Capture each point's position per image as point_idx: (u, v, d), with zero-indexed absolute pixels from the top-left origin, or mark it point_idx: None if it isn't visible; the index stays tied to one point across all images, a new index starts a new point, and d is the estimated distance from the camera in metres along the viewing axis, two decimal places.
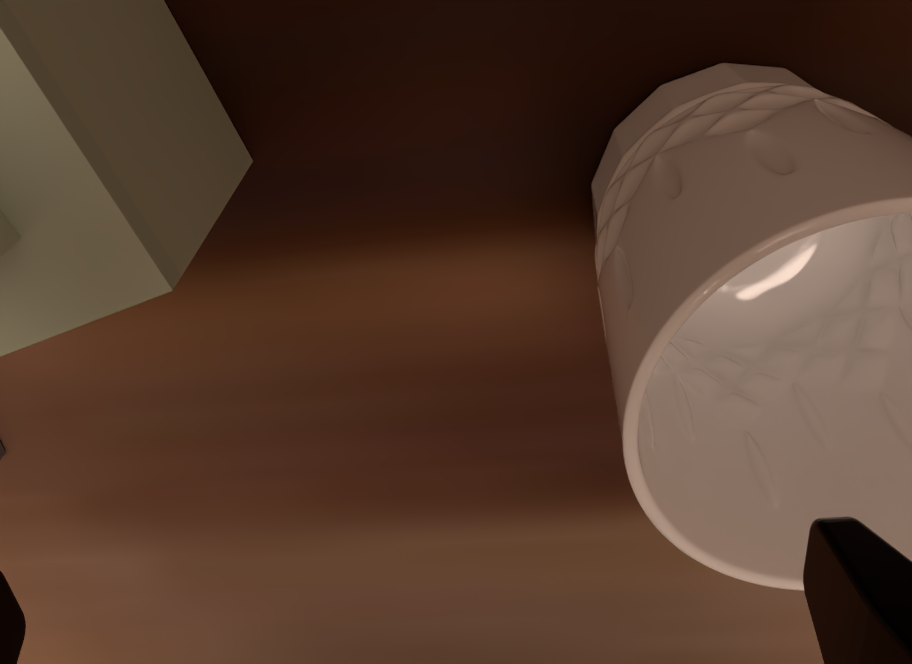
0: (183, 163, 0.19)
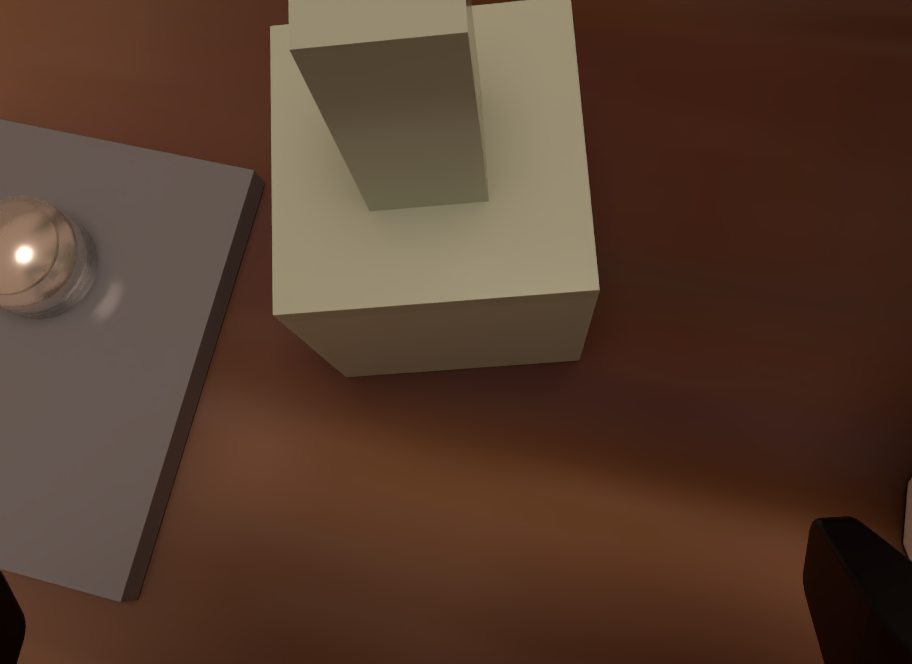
0: None
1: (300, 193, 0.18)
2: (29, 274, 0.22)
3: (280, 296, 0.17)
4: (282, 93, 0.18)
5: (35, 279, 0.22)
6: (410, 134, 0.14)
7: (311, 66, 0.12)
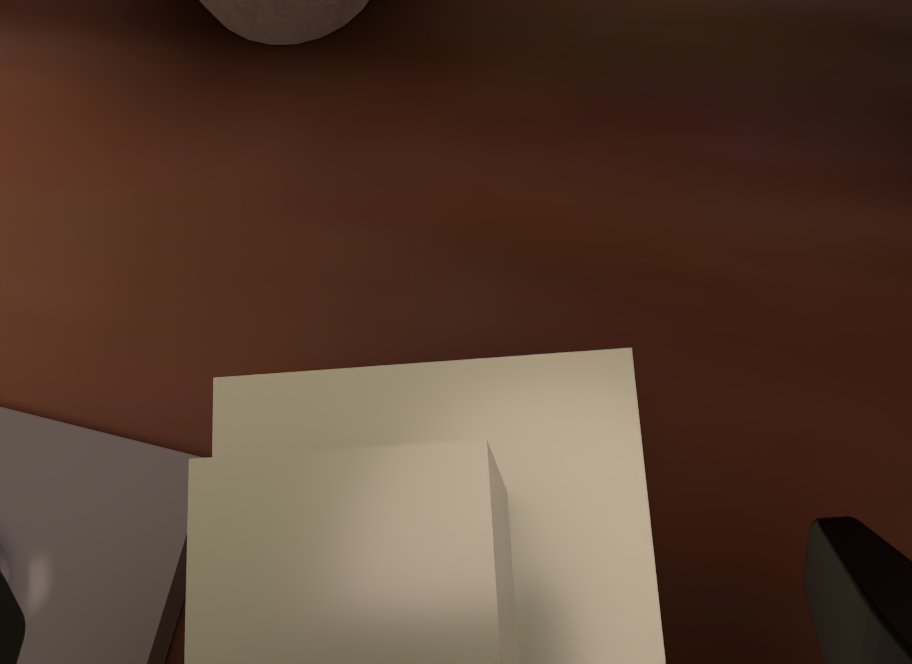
0: None
1: None
2: None
3: None
4: None
5: None
6: None
7: None
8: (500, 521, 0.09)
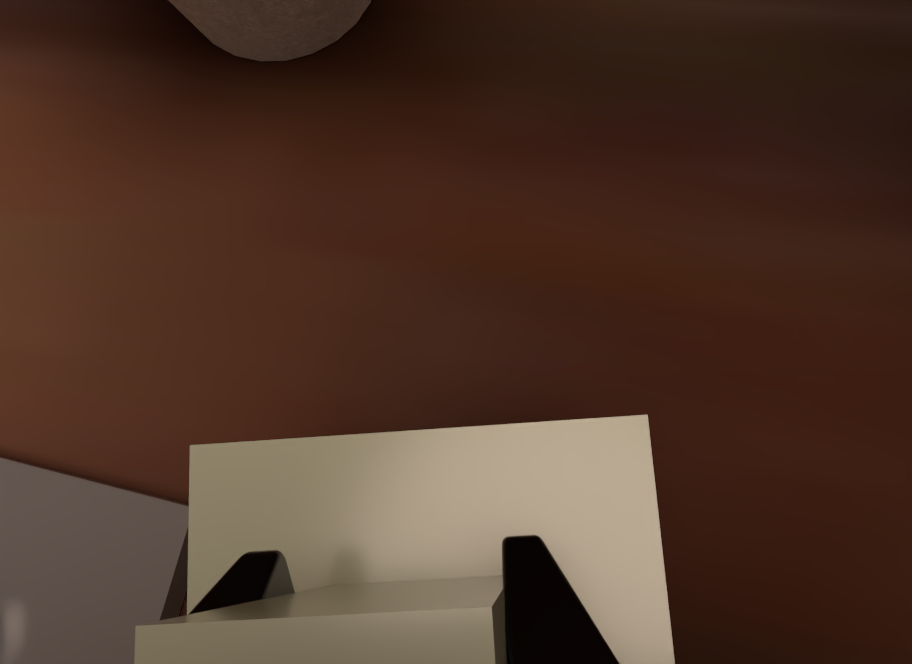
0: None
1: None
2: None
3: None
4: (205, 562, 0.12)
5: None
6: None
7: None
8: (506, 658, 0.07)
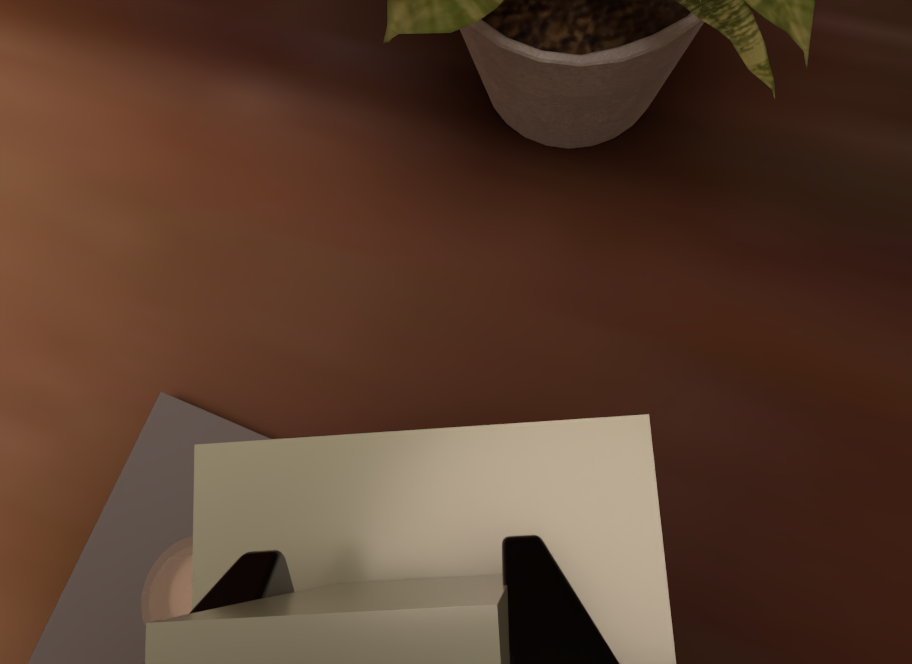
0: None
1: None
2: None
3: None
4: (210, 560, 0.12)
5: None
6: None
7: None
8: None
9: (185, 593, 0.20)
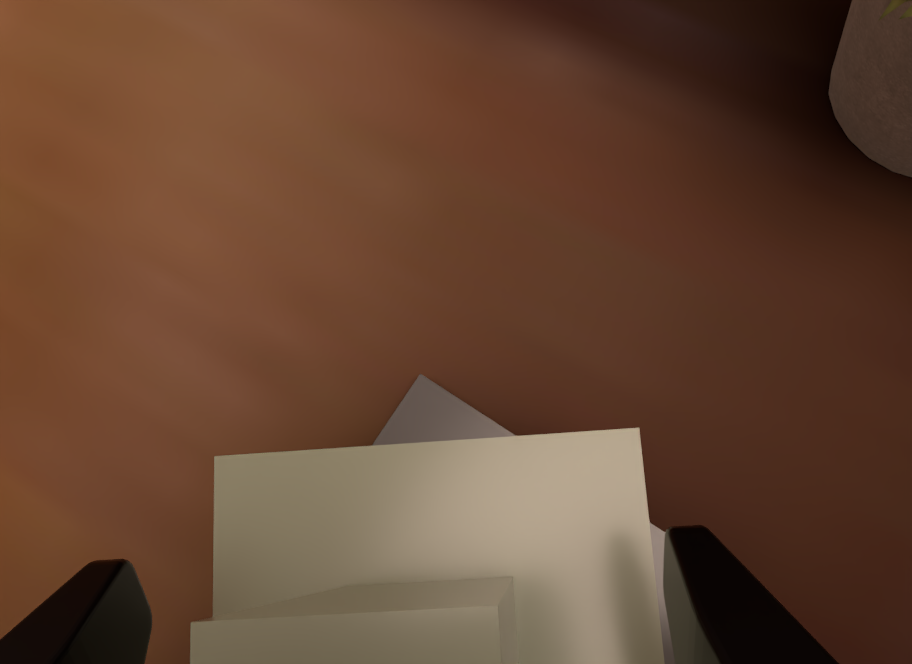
0: None
1: None
2: None
3: None
4: (229, 564, 0.13)
5: None
6: None
7: None
8: (509, 652, 0.08)
9: None
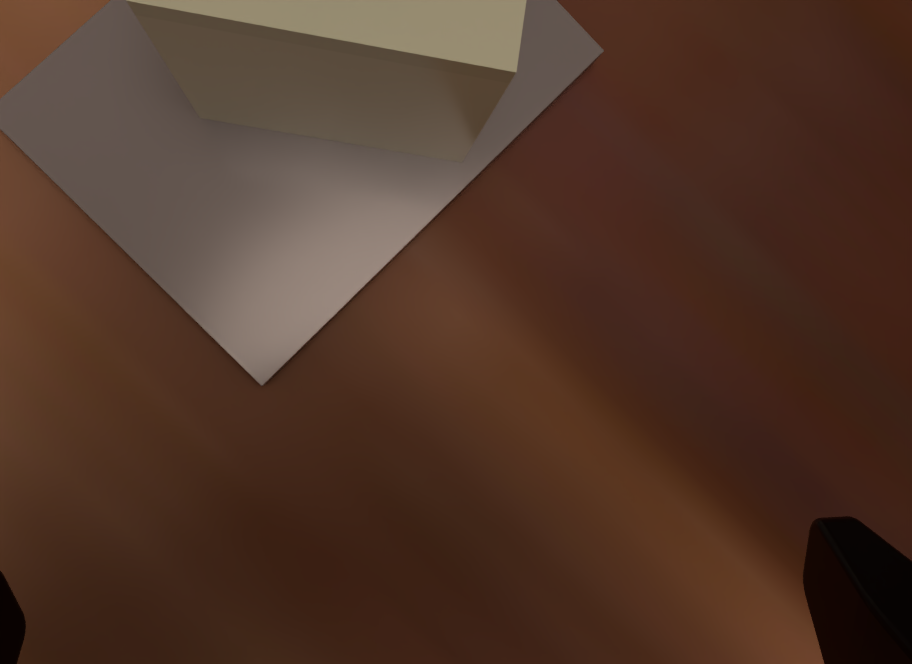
0: None
1: None
2: None
3: None
4: None
5: None
6: None
7: None
8: None
9: None
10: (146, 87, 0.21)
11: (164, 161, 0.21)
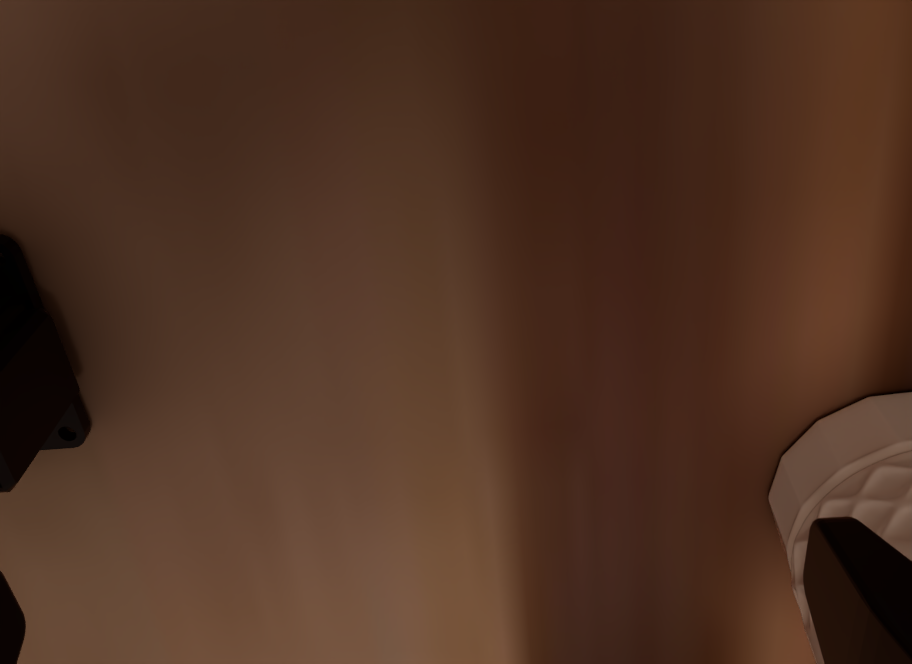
0: None
1: None
2: None
3: None
4: None
5: None
6: None
7: None
8: None
9: None
10: None
11: None
